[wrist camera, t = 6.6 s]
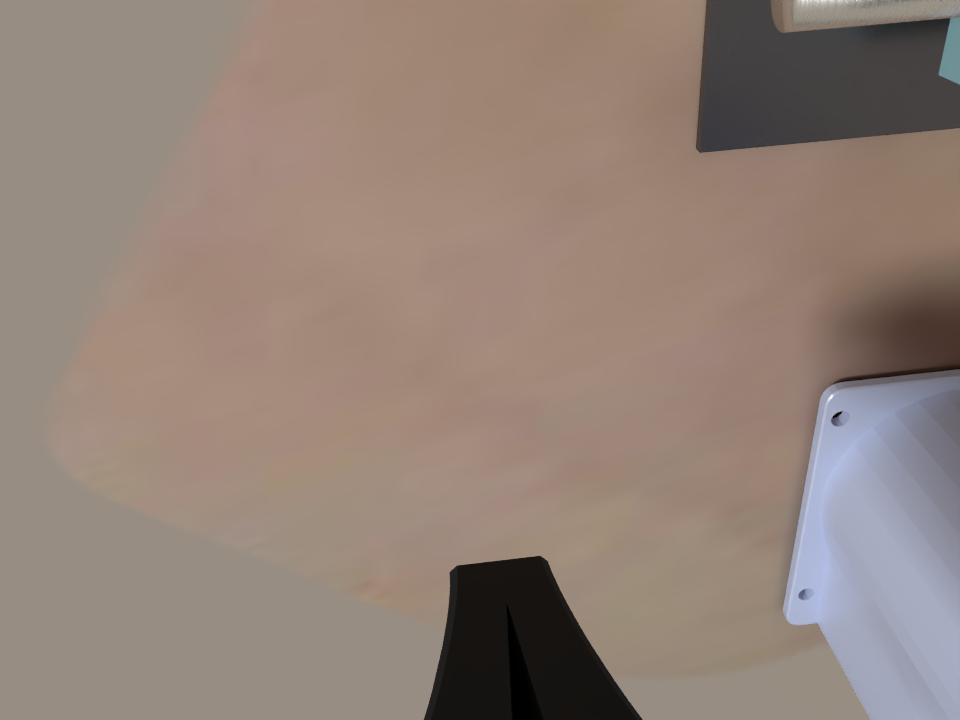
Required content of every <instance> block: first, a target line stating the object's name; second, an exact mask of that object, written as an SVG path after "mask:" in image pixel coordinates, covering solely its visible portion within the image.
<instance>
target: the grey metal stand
mask: <svg viewBox="0 0 960 720" xmlns="http://www.w3.org/2000/svg"><path fill="white" fill-rule="evenodd" d="M956 17H960V0H707V3H706V17H705V31H704V45H703V59H702V73H701V87H700V100H699V114H698V128H697V142H696V149H697V150H698V151H699V152H700V153H702V152H712V151H723V150H733V149H744V148H754V147H765V146H775V145H786V144H796V143H807V142H817V141H828V140H838V139H849V138H859V137H870V136H880V135H891V134H901V133H912V132H922V131H933V130H943V129H954V128H960V85H959V84H957V83H955V82H953V81H951V80H948V79H946V78H944V77H942V76H940V75H939V70H940V65H941V61H942V56H943V51H944V47H945V42H946V37H947V33H948V28H949V23H950V19H951V18H956Z"/></svg>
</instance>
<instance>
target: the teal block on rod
mask: <svg viewBox="0 0 960 720" xmlns="http://www.w3.org/2000/svg"><path fill="white" fill-rule="evenodd" d="M939 75H940V76H942V77H944V78H946V79H948V80H951V81H953V82H955V83H957V84H959V85H960V17H956V18H951V19H950V23H949V28H948V33H947V37H946V42H945V47H944V51H943V56H942V61H941V65H940V70H939Z"/></svg>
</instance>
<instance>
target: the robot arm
mask: <svg viewBox="0 0 960 720" xmlns="http://www.w3.org/2000/svg"><path fill="white" fill-rule="evenodd" d="M841 411H842V413H841V414H840V415H839V416H838V417H835V418H832V417H833V416H834V415H835V414H836V413H837V412H841ZM783 613H784V615H785V617H786V619H787V621H788V622H789V623H790V624H793V625H805V624H813V623H818V625H819V627H820V629H821V630H822V632H823V634H824V636H825V638H826V640H827V641H828V643H829V645H830V647H831V649H832V651H833V652H834V654H835V656H836V658H837V660H838V662H839V663H840V665H841V667H842V669H843V671H844V673H845V674H846V676H847V678H848V680H849V682H850V684H851V685H852V687H853V689H854V691H855V693H856V694H857V696H858V698H859V700H860V702H861V704H862V705H863V707H864V709H865V711H866V713H867V715H868V717H869V718H870V720H960V369H957V370H948V371H939V372H930V373H921V374H912V375H903V376H894V377H885V378H875V379H866V380H857V381H848V382H840V383H836V384H833V385H832V386H830V387H828V388H827V389H826V390H825V391H824V392H823V394H822V396H821V399H820V404H819V409H818V415H817V421H816V426H815V432H814V438H813V443H812V449H811V454H810V460H809V466H808V471H807V477H806V483H805V488H804V494H803V499H802V505H801V511H800V516H799V522H798V528H797V533H796V539H795V544H794V550H793V556H792V561H791V567H790V573H789V578H788V584H787V590H786V595H785V601H784V606H783ZM424 720H642V718H641V717H640V716H639V714H638V713H637V712H636V710H635V709H634V707H633V706H632V705H631V703H630V702H629V701H628V699H627V698H626V696H625V695H624V694H623V692H622V691H621V690H620V688H619V687H618V685H617V684H616V682H615V681H614V679H613V678H612V676H611V675H610V673H609V672H608V670H607V669H606V667H605V666H604V664H603V662H602V661H601V659H600V658H599V656H598V655H597V653H596V652H595V650H594V649H593V647H592V646H591V644H590V642H589V641H588V639H587V637H586V636H585V634H584V632H583V631H582V629H581V627H580V626H579V624H578V622H577V620H576V619H575V617H574V615H573V613H572V612H571V610H570V608H569V606H568V604H567V602H566V600H565V599H564V597H563V595H562V593H561V591H560V589H559V587H558V585H557V582H556V580H555V578H554V576H553V574H552V571H551V569H550V566H549V564H548V561H547V560H545V559H544V558H542V557H541V556H535V557H527V558H518V559H510V560H501V561H493V562H484V563H476V564H467V565H459V566H456V567H455V568H454V569H453V570H452V571H451V572H450V598H449V609H448V617H447V624H446V629H445V635H444V641H443V647H442V651H441V655H440V660H439V664H438V668H437V673H436V677H435V681H434V685H433V690H432V694H431V697H430V701H429V705H428V708H427V711H426V715H425V718H424Z"/></svg>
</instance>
